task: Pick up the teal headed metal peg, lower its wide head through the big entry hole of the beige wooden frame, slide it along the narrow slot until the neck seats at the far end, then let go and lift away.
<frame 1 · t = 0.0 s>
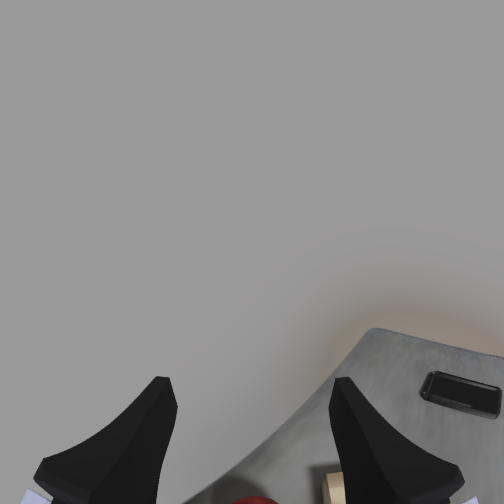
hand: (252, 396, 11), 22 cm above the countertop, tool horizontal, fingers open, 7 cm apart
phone: (462, 398, 31), on the countertop
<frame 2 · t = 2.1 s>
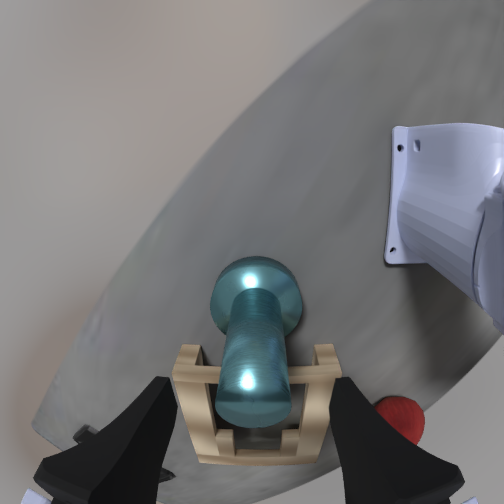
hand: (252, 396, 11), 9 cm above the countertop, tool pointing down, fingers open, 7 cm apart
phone: (123, 454, 31), on the countertop
beige wooden frame: (257, 402, 24), on the countertop
onion: (384, 398, 24), on the countertop
peg: (256, 296, 20), on the countertop
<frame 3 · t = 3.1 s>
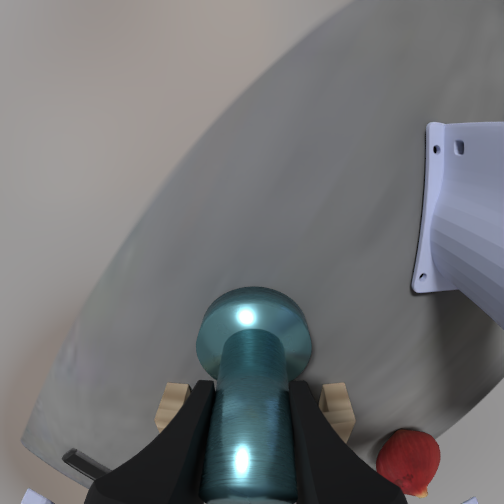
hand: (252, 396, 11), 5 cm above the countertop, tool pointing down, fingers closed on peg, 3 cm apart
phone: (114, 476, 26), on the countertop
beige wooden frame: (256, 440, 20), on the countertop
onion: (396, 430, 20), on the countertop
peg: (254, 333, 16), on the countertop, touching gripper
when the fingers open (5 cm above the countertop, at t = 7.8 s): peg stays where it is, resting in beige wooden frame.
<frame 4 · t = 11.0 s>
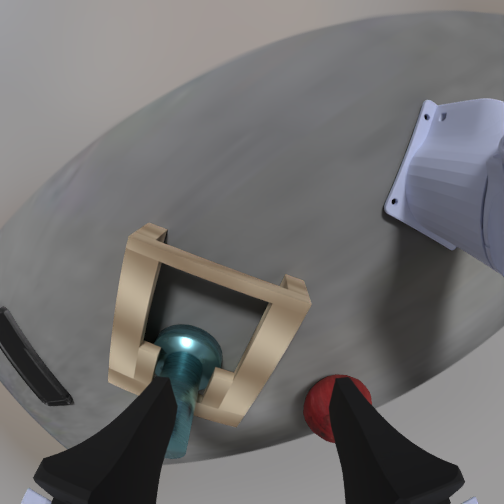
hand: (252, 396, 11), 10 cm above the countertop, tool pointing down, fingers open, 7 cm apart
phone: (28, 357, 26), on the countertop
beige wooden frame: (198, 328, 22), on the countertop
onion: (330, 377, 24), on the countertop
peg: (187, 352, 23), resting in beige wooden frame
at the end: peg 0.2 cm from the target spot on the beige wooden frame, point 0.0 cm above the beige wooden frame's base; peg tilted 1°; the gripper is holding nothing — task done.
